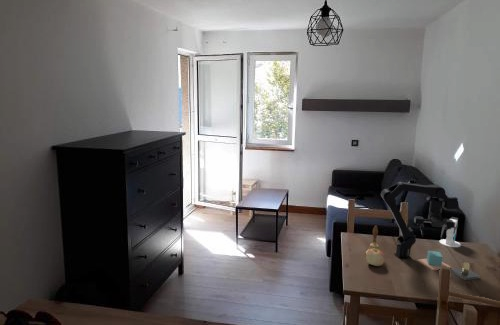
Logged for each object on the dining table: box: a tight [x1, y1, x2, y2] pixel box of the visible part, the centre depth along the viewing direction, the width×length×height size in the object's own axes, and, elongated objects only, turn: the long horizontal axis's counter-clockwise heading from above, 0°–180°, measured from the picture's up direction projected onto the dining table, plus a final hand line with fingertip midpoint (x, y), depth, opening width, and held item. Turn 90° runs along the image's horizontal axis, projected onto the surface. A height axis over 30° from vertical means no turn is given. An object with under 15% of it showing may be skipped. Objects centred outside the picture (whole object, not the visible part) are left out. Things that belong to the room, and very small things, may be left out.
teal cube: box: [426, 250, 444, 266], centre depth 198 cm, size 6×6×5 cm
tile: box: [417, 258, 452, 271], centre depth 198 cm, size 11×11×1 cm
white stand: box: [438, 216, 462, 248], centre depth 225 cm, size 12×11×15 cm
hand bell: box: [365, 225, 380, 255], centre depth 208 cm, size 8×8×16 cm
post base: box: [450, 261, 481, 281], centre depth 187 cm, size 9×9×6 cm
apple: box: [365, 248, 386, 267], centre depth 195 cm, size 9×9×8 cm
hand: (431, 237), depth 203 cm, fingers open, 9 cm apart
